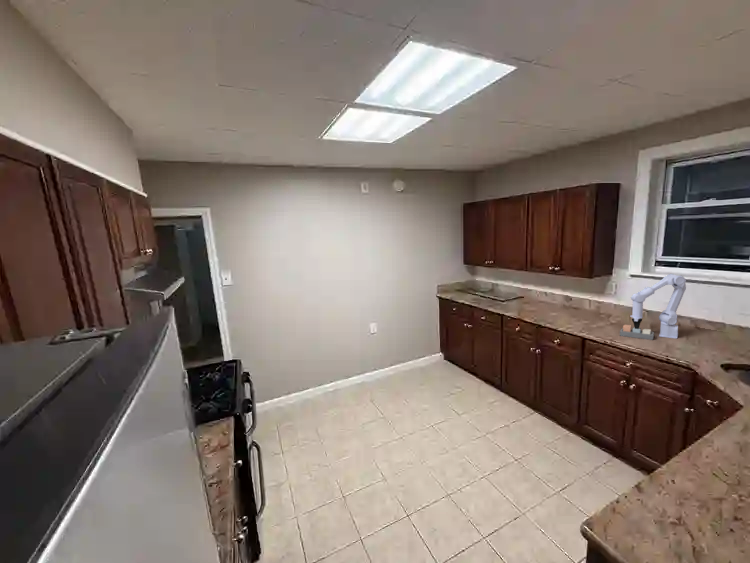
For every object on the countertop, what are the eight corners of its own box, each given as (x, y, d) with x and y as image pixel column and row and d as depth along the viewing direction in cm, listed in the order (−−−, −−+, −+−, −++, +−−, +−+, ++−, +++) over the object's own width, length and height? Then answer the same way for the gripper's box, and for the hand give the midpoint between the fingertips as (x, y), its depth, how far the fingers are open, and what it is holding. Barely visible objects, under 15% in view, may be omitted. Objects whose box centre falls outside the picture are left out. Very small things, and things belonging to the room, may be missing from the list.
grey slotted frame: (653, 336, 233) (654, 331, 232) (652, 340, 227) (653, 335, 226) (621, 332, 246) (621, 328, 245) (619, 335, 239) (619, 331, 239)
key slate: (640, 333, 236) (640, 328, 235) (640, 334, 233) (640, 329, 232) (633, 332, 239) (633, 327, 238) (632, 333, 236) (632, 328, 235)
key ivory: (650, 334, 232) (650, 329, 232) (650, 336, 229) (650, 331, 229) (642, 333, 235) (643, 328, 234) (642, 335, 232) (642, 330, 231)
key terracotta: (631, 330, 239) (631, 325, 239) (630, 331, 236) (630, 326, 236) (623, 329, 242) (624, 324, 242) (623, 331, 239) (623, 326, 239)
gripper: (631, 307, 241) (631, 325, 243) (629, 312, 231) (628, 330, 233) (644, 308, 236) (643, 326, 238) (641, 313, 226) (641, 332, 228)
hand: (636, 328), depth 235 cm, fingers closed, pressing on key slate
